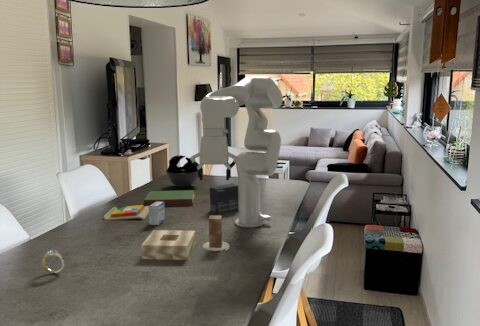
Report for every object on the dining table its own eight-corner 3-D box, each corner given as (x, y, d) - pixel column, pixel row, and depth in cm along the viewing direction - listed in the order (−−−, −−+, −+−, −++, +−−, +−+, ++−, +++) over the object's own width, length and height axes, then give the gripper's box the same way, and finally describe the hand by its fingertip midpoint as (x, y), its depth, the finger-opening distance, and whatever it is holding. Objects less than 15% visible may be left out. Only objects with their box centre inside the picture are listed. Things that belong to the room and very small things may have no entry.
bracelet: (41, 275, 144) (39, 251, 143) (46, 271, 148) (44, 248, 146) (62, 275, 144) (60, 252, 142) (66, 271, 147) (65, 248, 146)
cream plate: (230, 243, 171) (230, 241, 171) (227, 253, 161) (227, 250, 161) (204, 243, 172) (204, 240, 172) (200, 252, 162) (200, 250, 162)
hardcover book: (144, 207, 225) (143, 200, 224) (149, 197, 243) (149, 191, 242) (194, 206, 226) (193, 198, 225) (195, 196, 244) (195, 190, 244)
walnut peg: (222, 243, 168) (221, 215, 166) (221, 247, 164) (220, 219, 162) (210, 243, 169) (210, 215, 167) (209, 247, 164) (208, 218, 162)
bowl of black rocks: (167, 183, 275) (166, 153, 271) (200, 182, 277) (199, 152, 274) (165, 191, 255) (164, 158, 252) (200, 190, 257) (199, 158, 254)
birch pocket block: (195, 245, 169) (195, 230, 168) (187, 262, 153) (187, 246, 152) (154, 245, 170) (153, 230, 169) (142, 261, 155) (141, 245, 153)
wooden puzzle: (114, 210, 220) (114, 203, 220) (152, 210, 219) (152, 203, 219) (102, 220, 203) (102, 213, 202) (143, 221, 202) (143, 213, 202)
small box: (232, 206, 223) (232, 182, 221) (240, 209, 217) (240, 185, 215) (209, 210, 216) (209, 186, 214) (216, 213, 210) (216, 189, 208)
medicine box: (158, 225, 194) (157, 206, 192) (149, 225, 195) (148, 205, 193) (165, 220, 202) (164, 201, 200) (156, 219, 202) (155, 201, 201)
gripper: (238, 131, 162) (239, 177, 165) (191, 131, 163) (192, 177, 166) (236, 134, 155) (237, 182, 158) (187, 134, 156) (189, 181, 159)
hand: (214, 179), depth 162 cm, fingers open, 9 cm apart
